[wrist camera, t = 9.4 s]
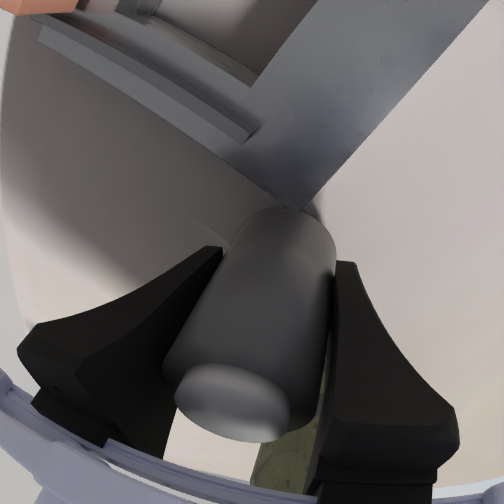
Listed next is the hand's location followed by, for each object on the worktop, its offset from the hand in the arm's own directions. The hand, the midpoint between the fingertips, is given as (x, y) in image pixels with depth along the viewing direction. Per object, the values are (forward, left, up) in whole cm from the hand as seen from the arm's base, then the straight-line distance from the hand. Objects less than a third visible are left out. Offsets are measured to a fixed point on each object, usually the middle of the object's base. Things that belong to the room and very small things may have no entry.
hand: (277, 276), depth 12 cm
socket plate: (+7, -7, -2) cm, 11 cm away
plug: (0, 0, -1) cm, 1 cm away
